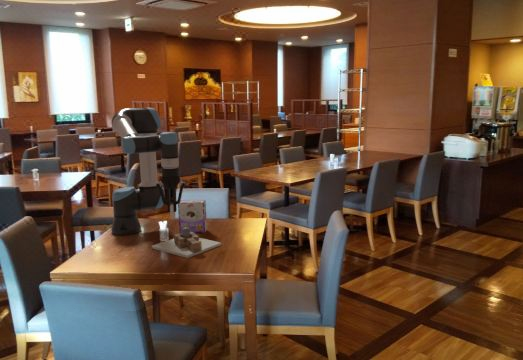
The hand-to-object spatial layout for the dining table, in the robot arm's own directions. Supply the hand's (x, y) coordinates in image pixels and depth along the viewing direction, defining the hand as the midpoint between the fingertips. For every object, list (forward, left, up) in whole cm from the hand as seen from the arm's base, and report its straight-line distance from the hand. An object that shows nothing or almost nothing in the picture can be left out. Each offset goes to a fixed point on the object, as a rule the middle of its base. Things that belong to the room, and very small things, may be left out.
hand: (172, 218), depth 209 cm
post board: (-1, +9, -16) cm, 18 cm away
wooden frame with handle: (+3, +7, -14) cm, 16 cm away
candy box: (-17, +29, -16) cm, 37 cm away
